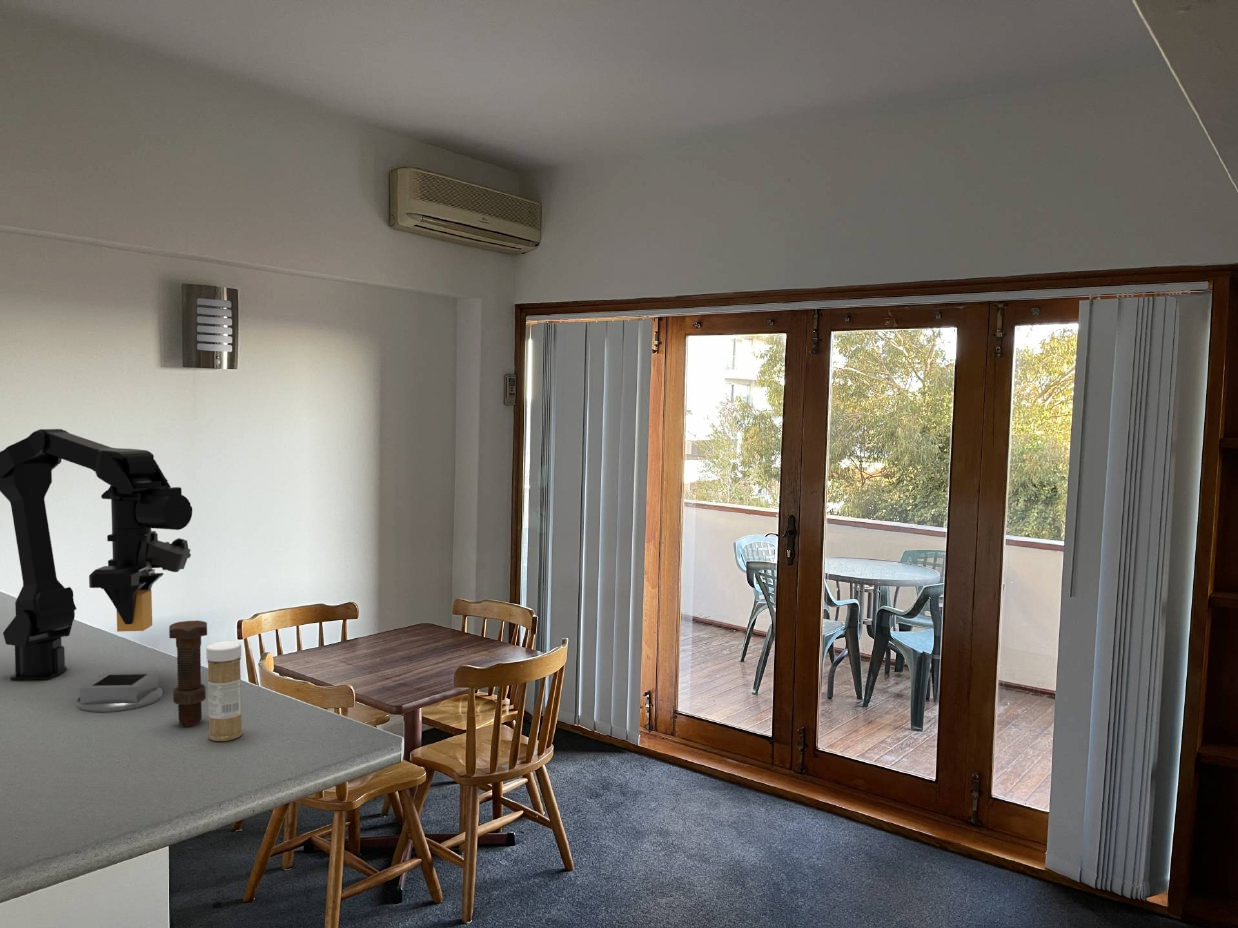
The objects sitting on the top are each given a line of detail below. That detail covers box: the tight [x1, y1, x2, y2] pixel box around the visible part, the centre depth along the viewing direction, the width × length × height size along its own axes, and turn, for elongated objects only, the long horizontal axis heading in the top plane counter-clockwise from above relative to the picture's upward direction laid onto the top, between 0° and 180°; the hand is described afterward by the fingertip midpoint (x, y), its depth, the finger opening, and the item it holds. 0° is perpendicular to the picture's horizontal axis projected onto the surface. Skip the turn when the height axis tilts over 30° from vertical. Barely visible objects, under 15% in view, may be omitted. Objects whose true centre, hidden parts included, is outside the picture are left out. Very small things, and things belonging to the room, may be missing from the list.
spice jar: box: [206, 640, 243, 742], centre depth 132 cm, size 5×5×14 cm
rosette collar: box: [76, 671, 163, 713], centre depth 148 cm, size 12×12×3 cm
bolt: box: [168, 620, 208, 728], centre depth 137 cm, size 6×5×15 cm
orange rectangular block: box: [116, 589, 153, 632], centre depth 153 cm, size 4×4×6 cm
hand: (134, 620), depth 153 cm, fingers closed on orange rectangular block, 4 cm apart
